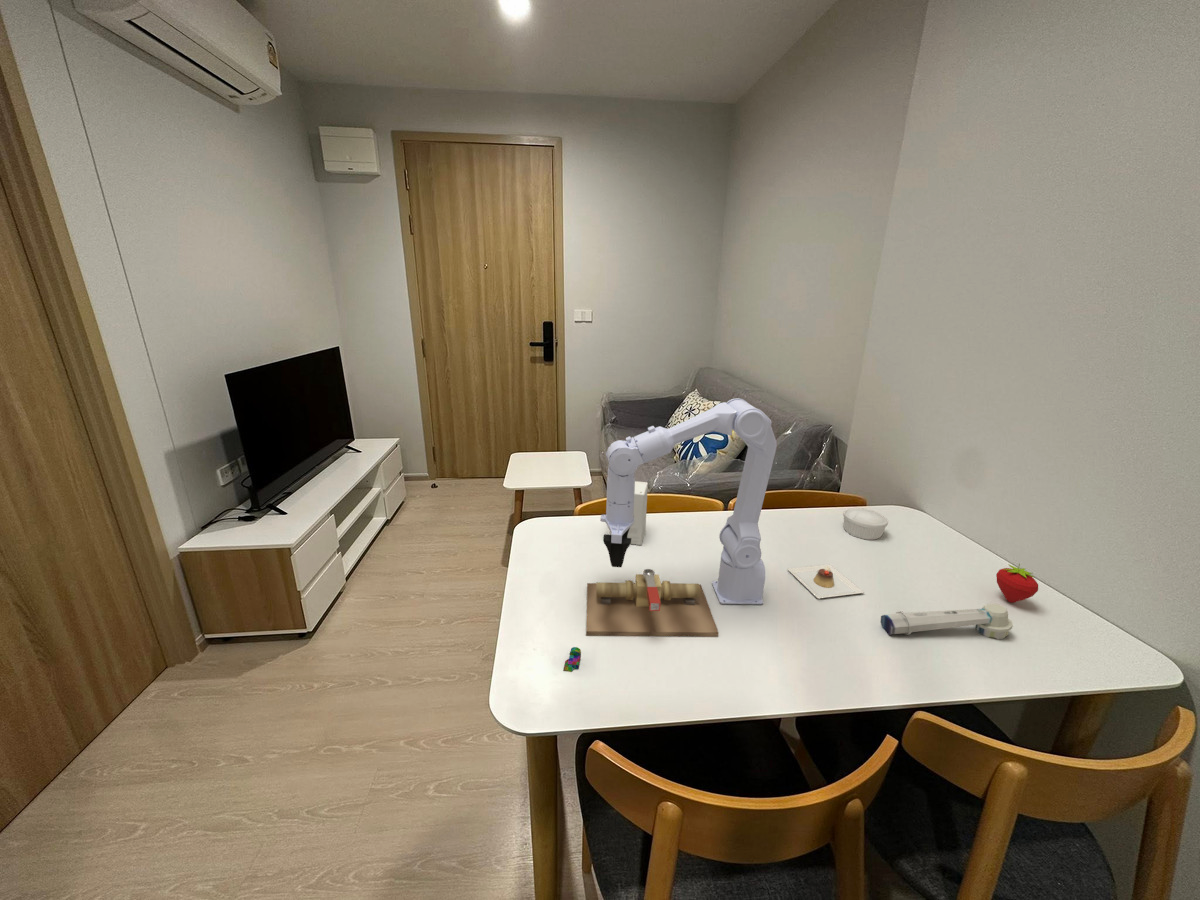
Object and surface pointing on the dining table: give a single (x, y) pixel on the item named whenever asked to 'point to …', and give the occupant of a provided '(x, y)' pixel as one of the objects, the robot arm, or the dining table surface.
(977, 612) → the toothbrush head
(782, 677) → the dining table surface
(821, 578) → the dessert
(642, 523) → the supplement box
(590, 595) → the valve board
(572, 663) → the puzzle cube
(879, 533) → the ramekin
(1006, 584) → the strawberry
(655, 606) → the valve lever
